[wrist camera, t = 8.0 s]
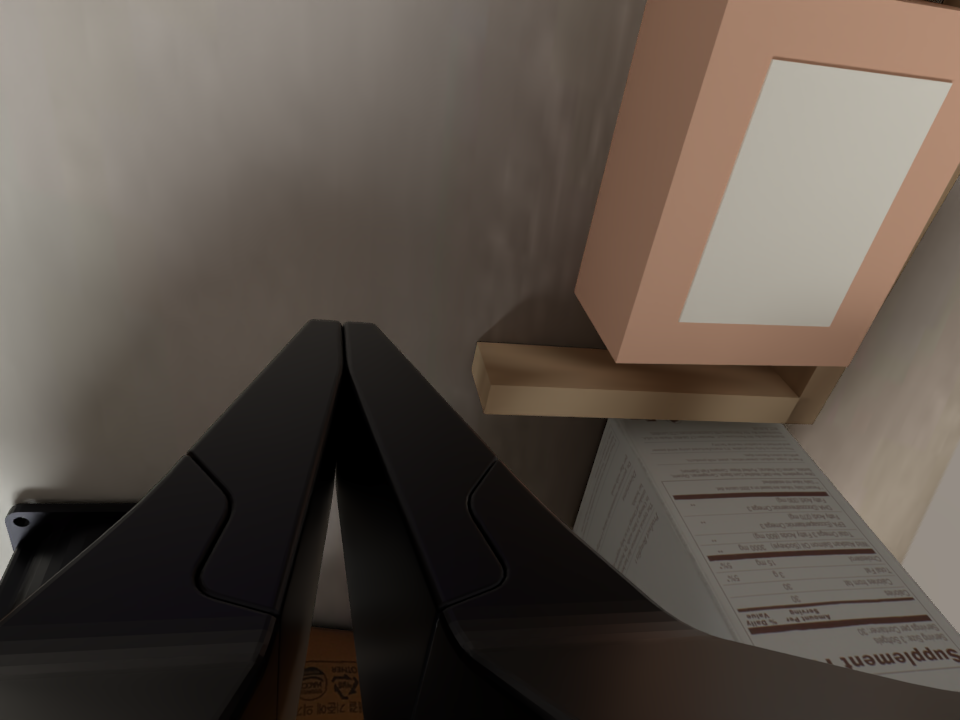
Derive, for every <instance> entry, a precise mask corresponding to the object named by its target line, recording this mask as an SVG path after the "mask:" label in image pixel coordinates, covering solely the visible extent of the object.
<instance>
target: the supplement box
mask: <svg viewBox="0 0 960 720" xmlns="http://www.w3.org/2000/svg"><path fill="white" fill-rule="evenodd" d="M573 531H574V532H575V533H576V534H577V535H578V536H579V537H580V538H582V539H583V540H584V541H585V542H586V543H587V544H589V545H590V546H591V547H592V548H593V549H594V550H595V551H597V552H598V553H599V554H600V555H601V556H602V557H604V558H605V559H606V560H607V561H608V562H609V563H611V564H612V565H613V566H614V567H615V568H616V569H617V570H619V571H620V572H621V573H622V574H623V575H624V576H626V577H627V578H628V579H629V580H630V581H631V582H632V583H634V584H635V585H636V586H637V587H638V588H639V589H641V590H642V591H643V592H644V593H645V594H646V595H648V596H649V597H650V598H651V599H652V600H653V601H655V602H656V603H657V604H658V605H660V606H661V607H662V608H663V609H665V610H666V611H667V612H669V613H670V614H672V615H673V616H675V617H676V618H678V619H679V620H681V621H682V622H684V623H686V624H688V625H690V626H692V627H694V628H696V629H698V630H700V631H703V632H705V633H708V634H710V635H713V636H716V637H720V638H723V639H727V640H732V641H736V642H740V643H744V644H748V645H753V646H757V647H761V648H765V649H769V650H774V651H778V652H782V653H786V654H790V655H795V656H799V657H803V658H807V659H812V660H816V661H820V662H824V663H828V664H833V665H837V666H841V667H845V668H849V669H854V670H858V671H862V672H866V673H870V674H875V675H879V676H883V677H887V678H892V679H896V680H900V681H904V682H908V683H913V684H918V685H923V686H928V687H933V688H938V689H944V690H950V691H957V692H960V634H959V633H958V632H957V631H956V630H955V628H954V627H953V626H952V625H951V624H950V622H948V620H947V619H946V618H945V617H944V615H943V614H942V613H941V612H940V611H939V609H938V608H937V607H936V606H935V605H934V604H933V602H932V601H931V600H930V599H929V598H928V596H927V595H926V594H925V593H924V592H923V590H922V589H921V588H920V587H919V586H918V584H917V583H916V582H915V581H914V580H913V578H912V577H911V576H910V575H909V574H908V573H907V572H906V570H905V569H904V568H903V567H902V565H901V564H900V563H899V562H898V561H897V559H896V558H895V557H894V556H893V555H892V553H891V552H890V551H889V550H888V549H887V548H886V547H885V545H884V544H883V543H882V542H881V541H880V540H879V538H878V537H877V536H876V535H875V534H874V532H873V531H872V530H871V529H870V528H869V526H868V525H867V524H866V523H865V522H864V520H863V519H862V518H861V517H860V516H859V514H858V513H857V512H856V511H855V510H854V508H853V507H852V506H851V505H850V504H849V503H848V501H847V500H846V499H845V498H844V497H843V496H842V494H841V493H840V492H839V491H838V490H837V488H836V487H835V486H834V485H833V484H832V482H831V481H830V480H829V478H828V477H827V476H826V475H825V474H824V473H823V472H822V471H821V469H820V468H819V467H818V466H817V465H816V463H815V462H814V461H813V460H812V459H811V457H810V456H809V455H808V454H807V453H806V451H805V450H804V449H803V448H802V447H801V445H800V444H799V443H798V442H797V441H796V440H795V438H794V437H793V436H792V435H791V434H790V432H789V431H788V430H787V429H786V428H785V427H784V425H783V424H782V423H753V422H721V421H689V420H657V419H625V418H608V420H607V424H606V427H605V430H604V433H603V436H602V439H601V442H600V445H599V448H598V452H597V455H596V458H595V461H594V464H593V468H592V471H591V474H590V477H589V480H588V483H587V487H586V490H585V493H584V496H583V499H582V502H581V506H580V509H579V512H578V515H577V518H576V521H575V524H574V528H573Z"/></svg>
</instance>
